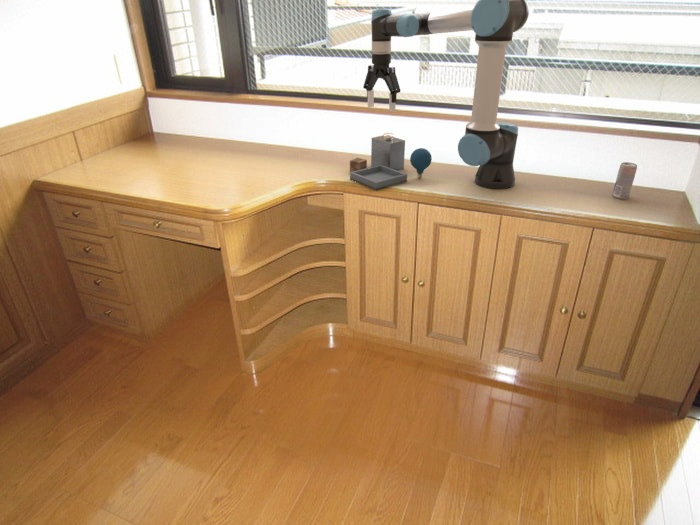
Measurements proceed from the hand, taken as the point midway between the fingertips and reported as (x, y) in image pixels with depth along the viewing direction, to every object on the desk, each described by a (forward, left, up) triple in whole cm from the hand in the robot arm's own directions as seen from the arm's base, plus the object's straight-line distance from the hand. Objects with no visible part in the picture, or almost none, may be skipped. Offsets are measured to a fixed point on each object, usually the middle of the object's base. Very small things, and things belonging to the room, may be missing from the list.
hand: (381, 108), depth 202 cm
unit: (-5, 0, -24) cm, 24 cm away
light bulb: (-24, 0, -24) cm, 34 cm away
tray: (-16, +15, -24) cm, 32 cm away
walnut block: (-2, +14, -24) cm, 27 cm away
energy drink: (-84, -42, -24) cm, 97 cm away
